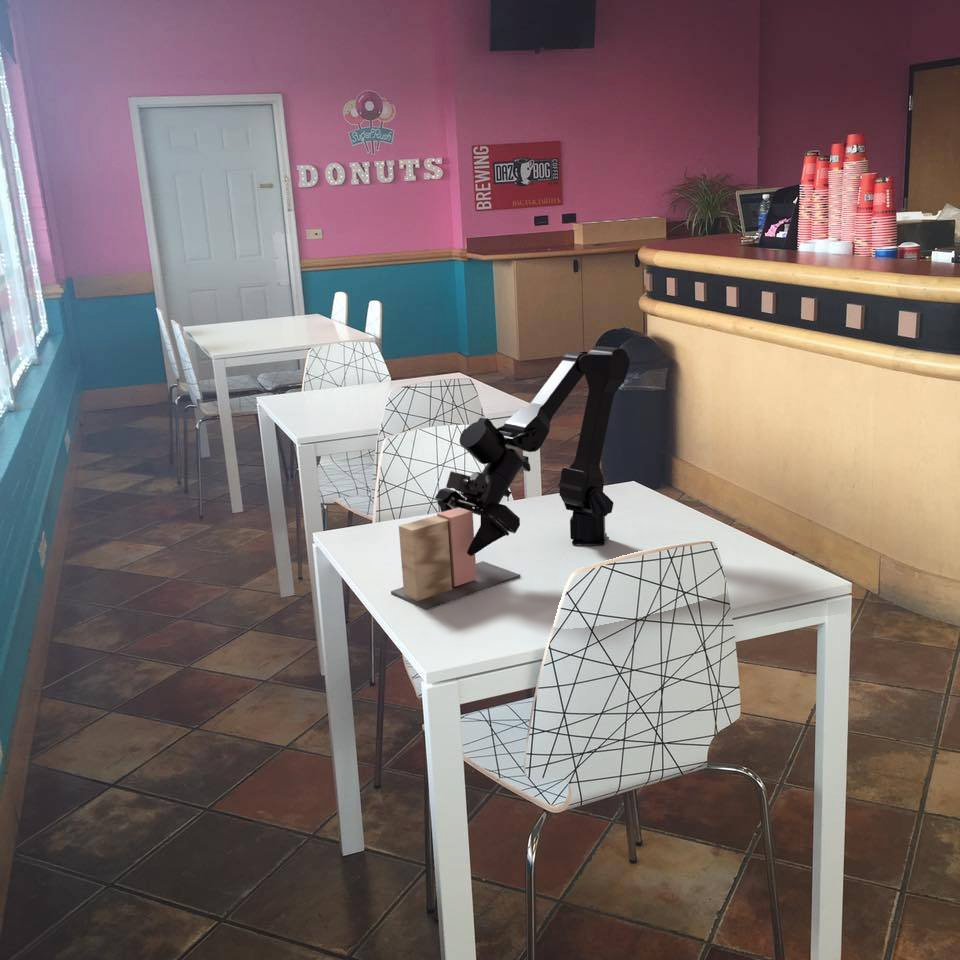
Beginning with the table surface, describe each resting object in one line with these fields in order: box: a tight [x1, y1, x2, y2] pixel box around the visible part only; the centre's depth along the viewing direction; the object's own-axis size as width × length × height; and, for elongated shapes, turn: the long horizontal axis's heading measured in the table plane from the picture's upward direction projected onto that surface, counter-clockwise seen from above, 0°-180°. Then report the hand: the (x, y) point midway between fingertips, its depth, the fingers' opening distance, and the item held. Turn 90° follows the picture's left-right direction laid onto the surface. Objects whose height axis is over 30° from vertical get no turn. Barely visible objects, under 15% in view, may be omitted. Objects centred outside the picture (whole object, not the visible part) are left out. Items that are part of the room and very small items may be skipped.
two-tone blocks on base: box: [390, 515, 522, 611], centre depth 187 cm, size 22×11×14 cm, turn 129°
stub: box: [436, 507, 477, 587], centre depth 187 cm, size 5×4×13 cm
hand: (453, 549), depth 187 cm, fingers open, 9 cm apart
